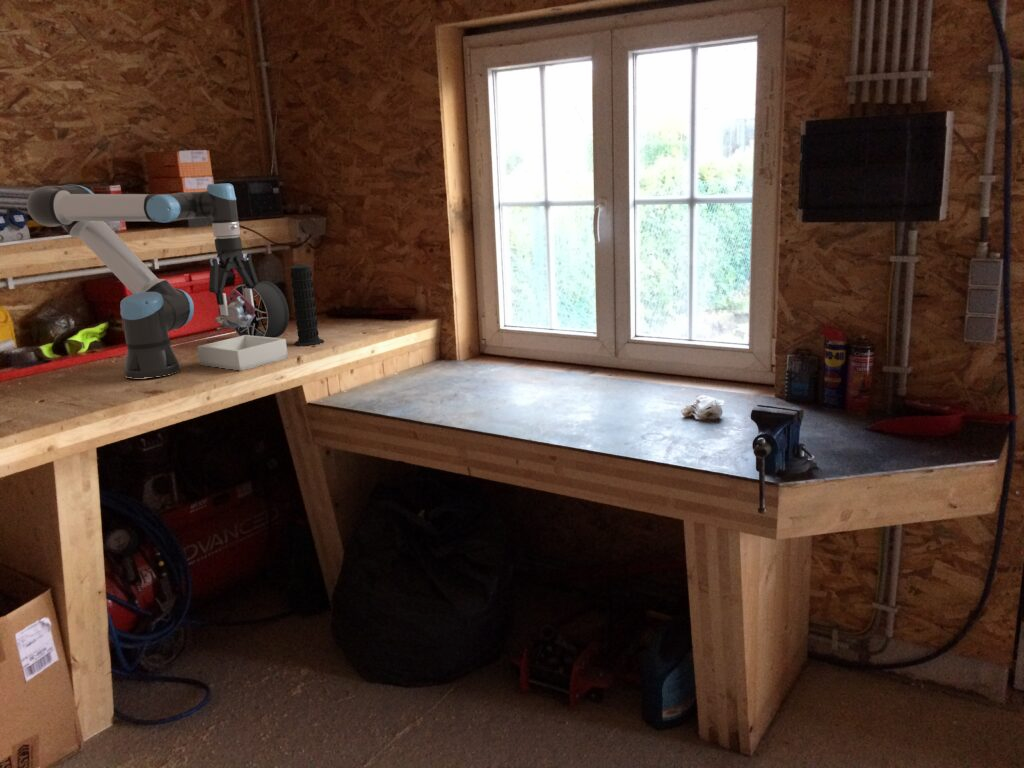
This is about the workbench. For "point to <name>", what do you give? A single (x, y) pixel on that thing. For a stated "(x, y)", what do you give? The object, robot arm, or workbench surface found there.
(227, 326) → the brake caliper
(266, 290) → the wheel rim
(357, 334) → the workbench surface
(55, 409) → the workbench surface
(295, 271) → the handle grip
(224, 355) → the bin
